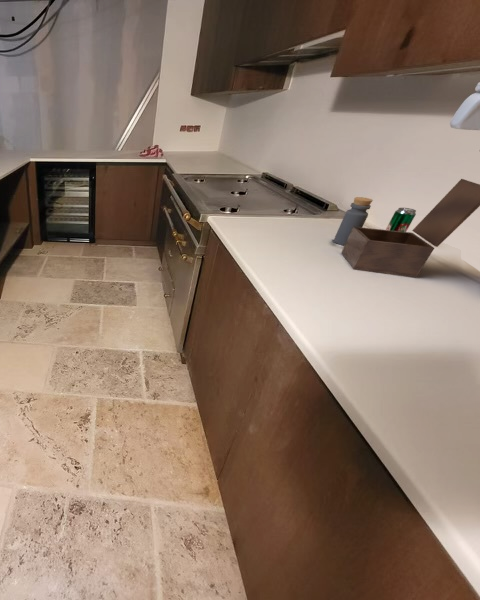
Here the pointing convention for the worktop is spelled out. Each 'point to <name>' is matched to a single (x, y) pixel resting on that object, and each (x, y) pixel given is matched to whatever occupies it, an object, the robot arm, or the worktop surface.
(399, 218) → the soda can
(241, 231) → the worktop surface
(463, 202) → the lid
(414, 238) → the brown wooden box
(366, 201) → the bottle
